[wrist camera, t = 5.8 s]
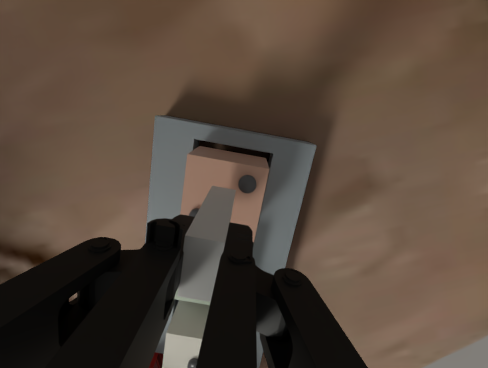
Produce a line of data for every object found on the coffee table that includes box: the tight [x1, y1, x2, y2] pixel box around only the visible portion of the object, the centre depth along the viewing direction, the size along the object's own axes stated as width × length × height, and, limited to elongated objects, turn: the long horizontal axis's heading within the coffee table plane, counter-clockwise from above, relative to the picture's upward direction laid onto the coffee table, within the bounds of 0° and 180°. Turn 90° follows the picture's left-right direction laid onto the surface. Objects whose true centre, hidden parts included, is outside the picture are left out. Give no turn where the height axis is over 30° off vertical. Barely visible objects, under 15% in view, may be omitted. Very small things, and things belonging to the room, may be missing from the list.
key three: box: [180, 146, 269, 242], centre depth 19 cm, size 6×6×4 cm
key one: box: [162, 300, 210, 368], centre depth 23 cm, size 6×6×4 cm
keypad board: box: [145, 115, 317, 368], centre depth 24 cm, size 13×24×2 cm, turn 170°
